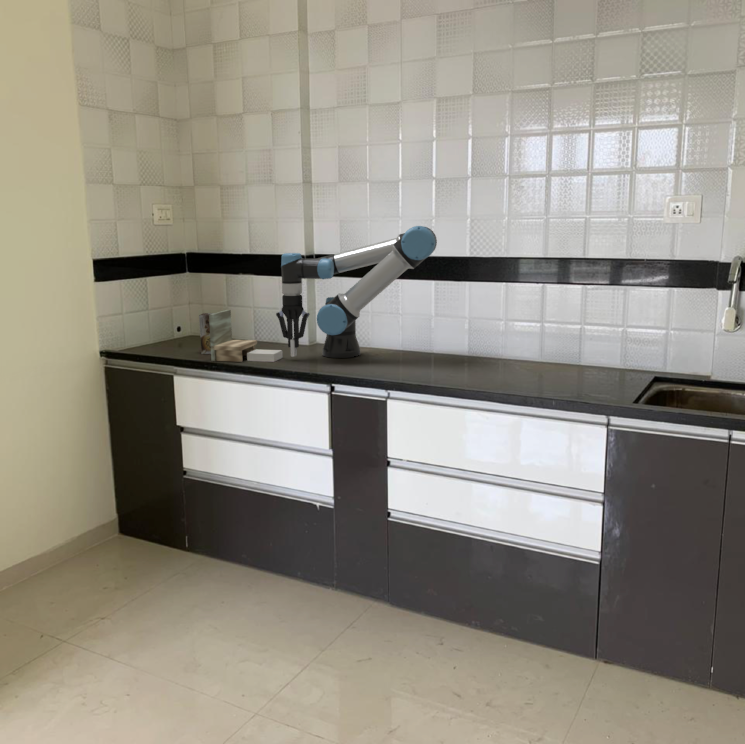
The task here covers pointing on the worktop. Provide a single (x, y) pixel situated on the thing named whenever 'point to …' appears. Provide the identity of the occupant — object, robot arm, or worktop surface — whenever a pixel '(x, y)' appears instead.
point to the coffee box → (205, 333)
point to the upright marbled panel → (226, 339)
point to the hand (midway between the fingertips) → (293, 355)
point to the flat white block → (264, 355)
